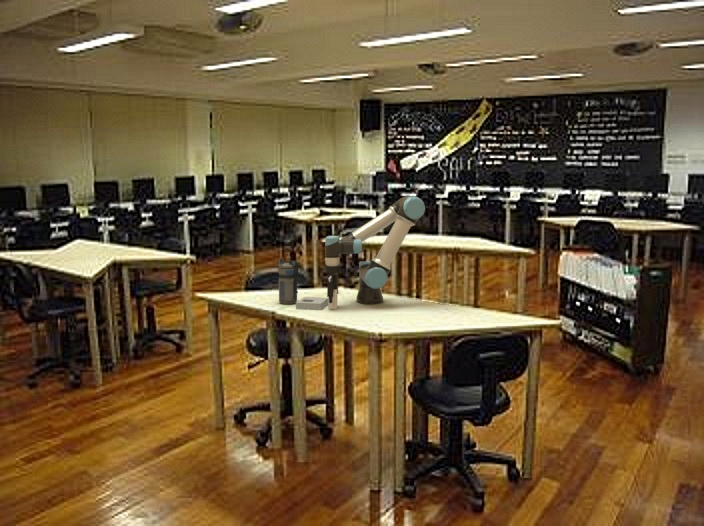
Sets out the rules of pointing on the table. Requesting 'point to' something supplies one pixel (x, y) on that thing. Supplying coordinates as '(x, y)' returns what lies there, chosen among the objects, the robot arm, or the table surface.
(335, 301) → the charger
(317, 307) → the grey block with hole
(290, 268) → the beverage bottle
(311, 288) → the table surface
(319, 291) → the table surface
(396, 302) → the table surface
